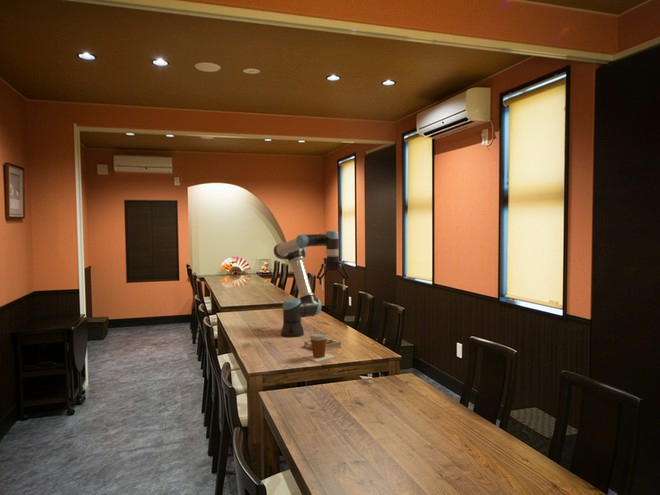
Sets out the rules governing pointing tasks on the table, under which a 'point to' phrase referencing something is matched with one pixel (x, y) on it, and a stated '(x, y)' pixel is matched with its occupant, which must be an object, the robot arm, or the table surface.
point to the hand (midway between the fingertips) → (333, 289)
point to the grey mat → (319, 358)
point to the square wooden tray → (330, 343)
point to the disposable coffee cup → (318, 344)
